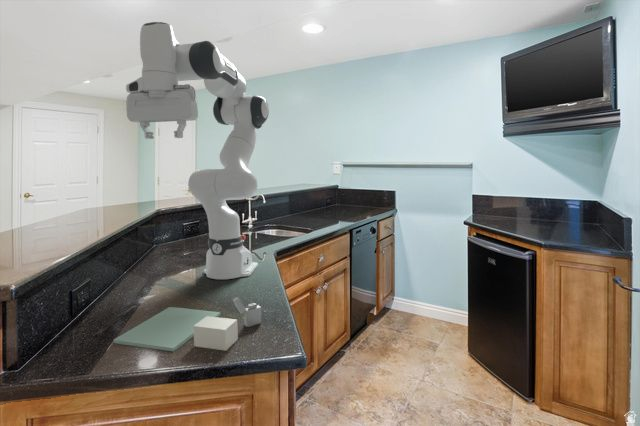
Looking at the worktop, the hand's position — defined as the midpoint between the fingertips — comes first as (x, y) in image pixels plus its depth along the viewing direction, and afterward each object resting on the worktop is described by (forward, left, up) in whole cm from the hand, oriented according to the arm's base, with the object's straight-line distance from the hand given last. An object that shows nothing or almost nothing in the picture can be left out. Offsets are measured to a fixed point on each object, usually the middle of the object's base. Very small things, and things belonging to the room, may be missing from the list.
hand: (163, 138), depth 100 cm
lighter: (+7, +27, -48) cm, 56 cm away
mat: (+13, +9, -48) cm, 51 cm away
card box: (+17, +24, -48) cm, 56 cm away
